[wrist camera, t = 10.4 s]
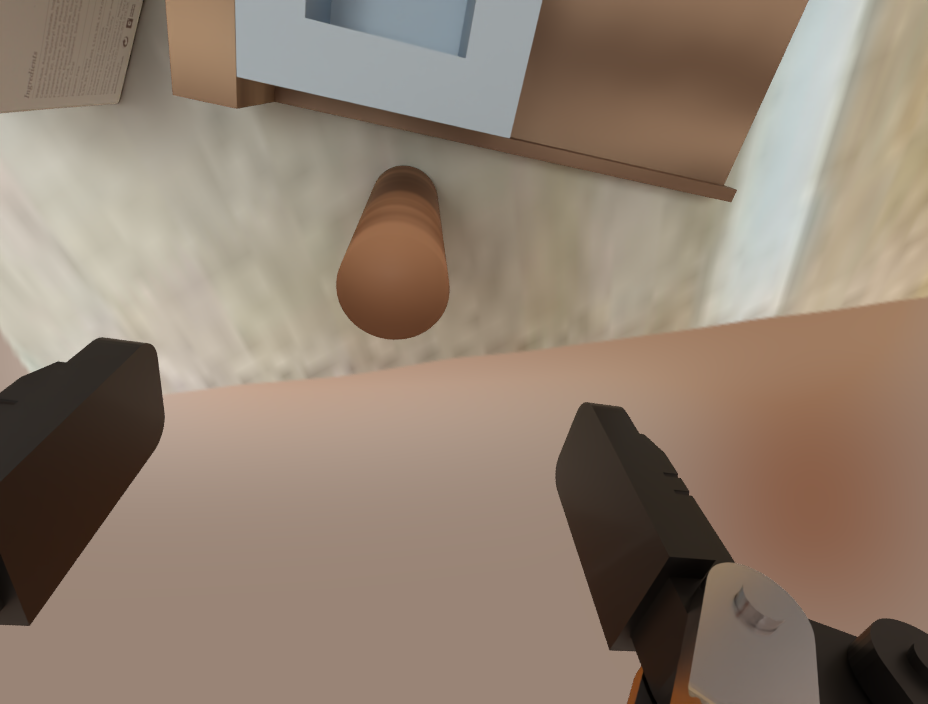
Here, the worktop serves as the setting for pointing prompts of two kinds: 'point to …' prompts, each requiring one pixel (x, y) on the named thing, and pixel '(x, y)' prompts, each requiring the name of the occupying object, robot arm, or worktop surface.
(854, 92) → the worktop surface
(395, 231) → the dowel
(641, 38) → the track
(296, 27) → the grey square collar
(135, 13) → the small box
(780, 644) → the robot arm
